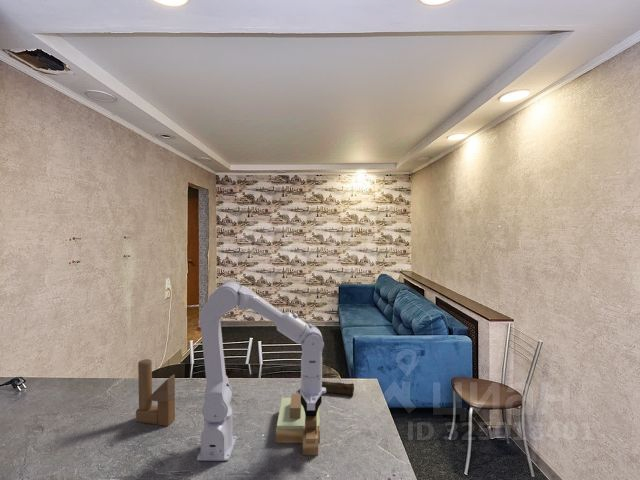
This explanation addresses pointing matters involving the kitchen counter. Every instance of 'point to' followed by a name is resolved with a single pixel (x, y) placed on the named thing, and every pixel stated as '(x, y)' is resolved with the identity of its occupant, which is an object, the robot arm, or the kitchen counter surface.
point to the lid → (292, 413)
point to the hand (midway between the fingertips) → (310, 422)
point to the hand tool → (339, 388)
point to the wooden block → (155, 397)
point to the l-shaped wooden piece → (310, 429)
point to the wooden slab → (299, 438)
